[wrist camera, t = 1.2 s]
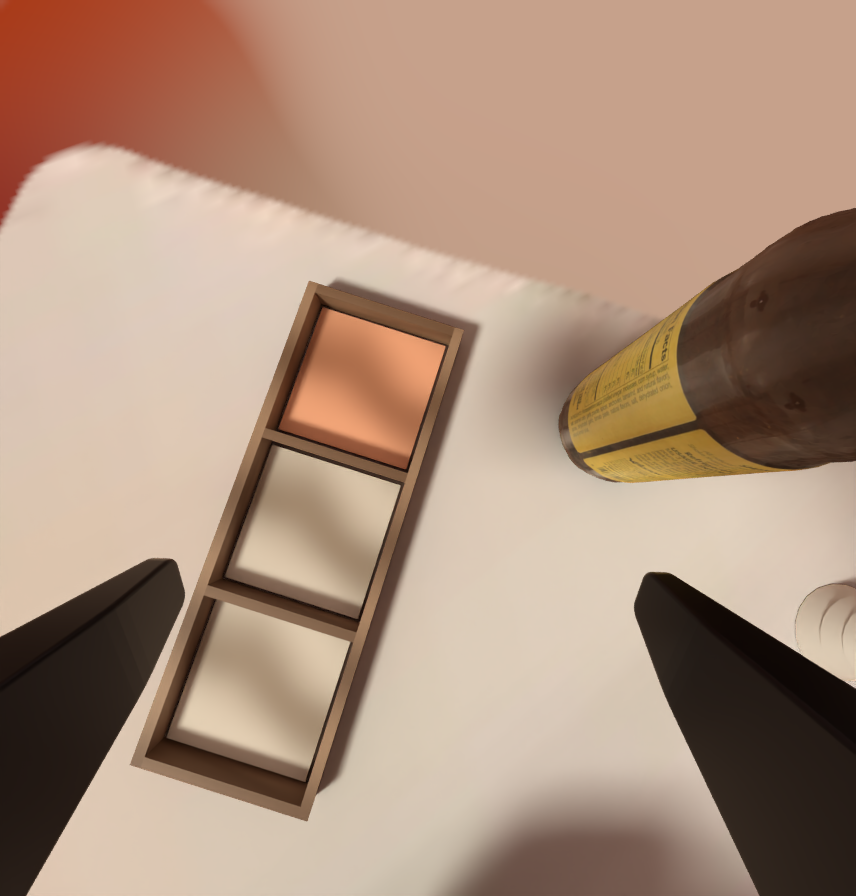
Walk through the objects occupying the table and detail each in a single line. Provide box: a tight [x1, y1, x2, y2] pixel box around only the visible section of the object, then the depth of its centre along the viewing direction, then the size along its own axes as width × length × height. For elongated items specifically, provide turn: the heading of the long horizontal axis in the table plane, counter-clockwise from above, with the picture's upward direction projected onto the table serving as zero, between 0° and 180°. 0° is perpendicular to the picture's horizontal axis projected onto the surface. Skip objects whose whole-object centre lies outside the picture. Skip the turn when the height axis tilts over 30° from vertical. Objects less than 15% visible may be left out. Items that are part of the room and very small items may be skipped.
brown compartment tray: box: [130, 281, 464, 821], centre depth 20 cm, size 25×9×2 cm, turn 162°
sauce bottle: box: [559, 208, 856, 483], centre depth 12 cm, size 6×6×20 cm
